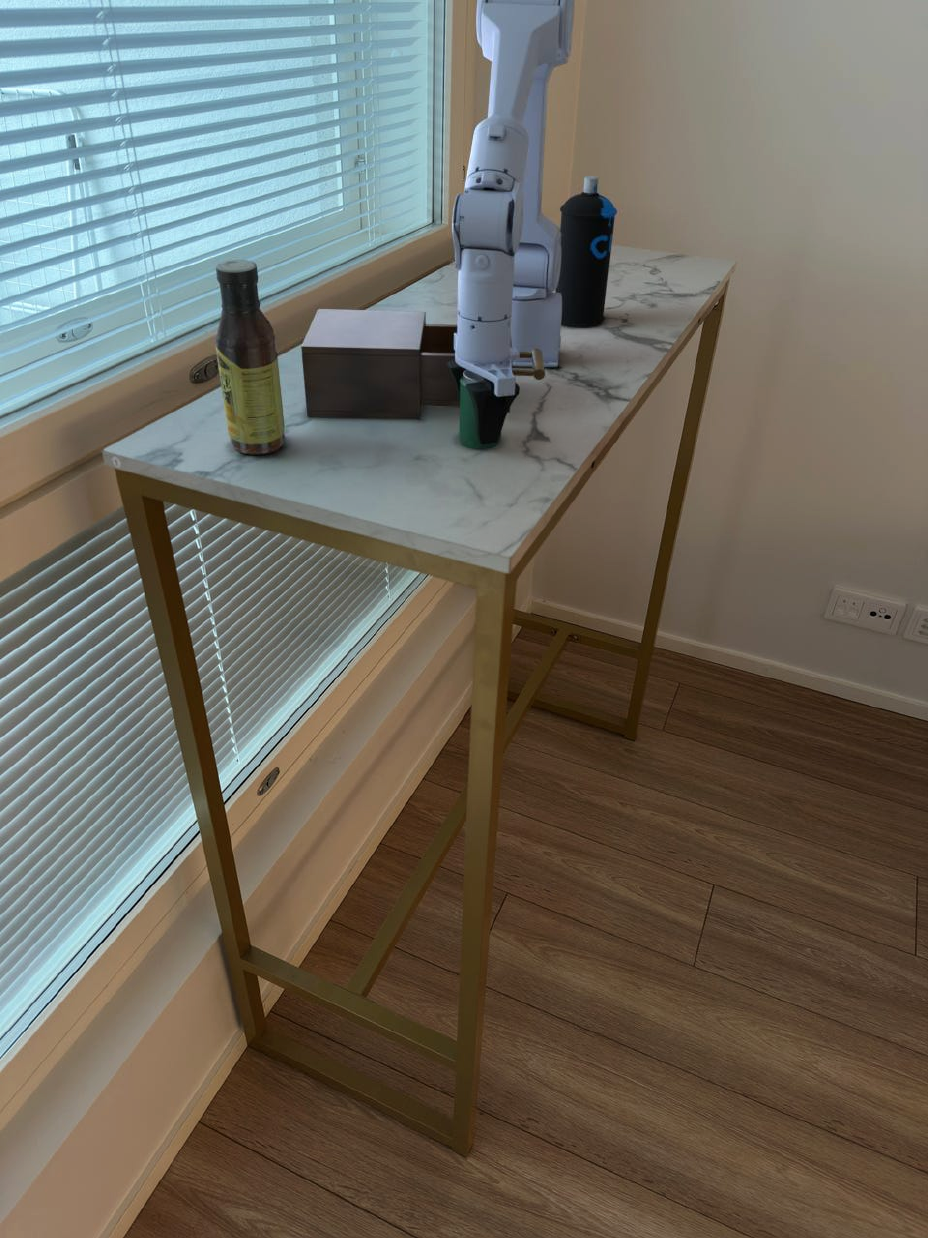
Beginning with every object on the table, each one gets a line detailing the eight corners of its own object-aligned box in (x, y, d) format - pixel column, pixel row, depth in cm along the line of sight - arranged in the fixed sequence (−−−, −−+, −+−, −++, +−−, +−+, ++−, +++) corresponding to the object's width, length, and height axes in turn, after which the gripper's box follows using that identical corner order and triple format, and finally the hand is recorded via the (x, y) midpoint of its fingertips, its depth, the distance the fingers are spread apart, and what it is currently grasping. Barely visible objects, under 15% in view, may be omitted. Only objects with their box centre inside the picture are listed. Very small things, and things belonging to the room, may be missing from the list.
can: (494, 429, 107) (496, 363, 102) (506, 447, 103) (509, 379, 98) (454, 433, 106) (455, 367, 101) (465, 451, 102) (467, 383, 97)
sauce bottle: (233, 433, 104) (208, 253, 92) (288, 433, 105) (270, 254, 93) (226, 459, 99) (199, 272, 87) (284, 458, 99) (264, 272, 88)
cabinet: (426, 376, 119) (425, 311, 114) (420, 419, 108) (419, 349, 103) (323, 374, 119) (318, 308, 114) (307, 416, 108) (300, 346, 103)
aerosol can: (544, 323, 138) (555, 179, 126) (560, 307, 144) (571, 169, 132) (596, 330, 135) (612, 185, 123) (610, 314, 142) (627, 174, 130)
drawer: (538, 375, 118) (542, 323, 114) (544, 414, 108) (548, 358, 104) (412, 371, 118) (411, 319, 114) (405, 410, 108) (404, 354, 104)
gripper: (546, 332, 91) (536, 455, 99) (496, 290, 102) (491, 404, 110) (480, 338, 89) (476, 463, 97) (436, 295, 100) (436, 410, 108)
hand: (480, 432), depth 104 cm, fingers closed on can, 5 cm apart
